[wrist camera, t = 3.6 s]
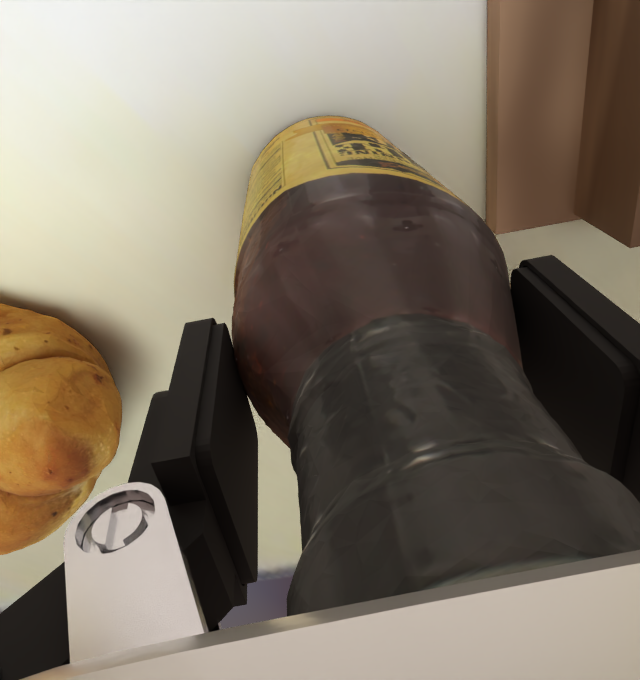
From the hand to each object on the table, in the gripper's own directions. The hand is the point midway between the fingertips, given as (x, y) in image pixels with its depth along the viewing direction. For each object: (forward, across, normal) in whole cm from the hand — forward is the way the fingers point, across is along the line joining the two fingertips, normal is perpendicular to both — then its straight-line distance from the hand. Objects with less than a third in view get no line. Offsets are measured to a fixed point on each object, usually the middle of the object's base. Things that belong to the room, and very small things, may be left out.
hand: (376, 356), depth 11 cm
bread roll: (+14, +16, +8) cm, 22 cm away
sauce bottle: (+13, 0, 0) cm, 13 cm away
